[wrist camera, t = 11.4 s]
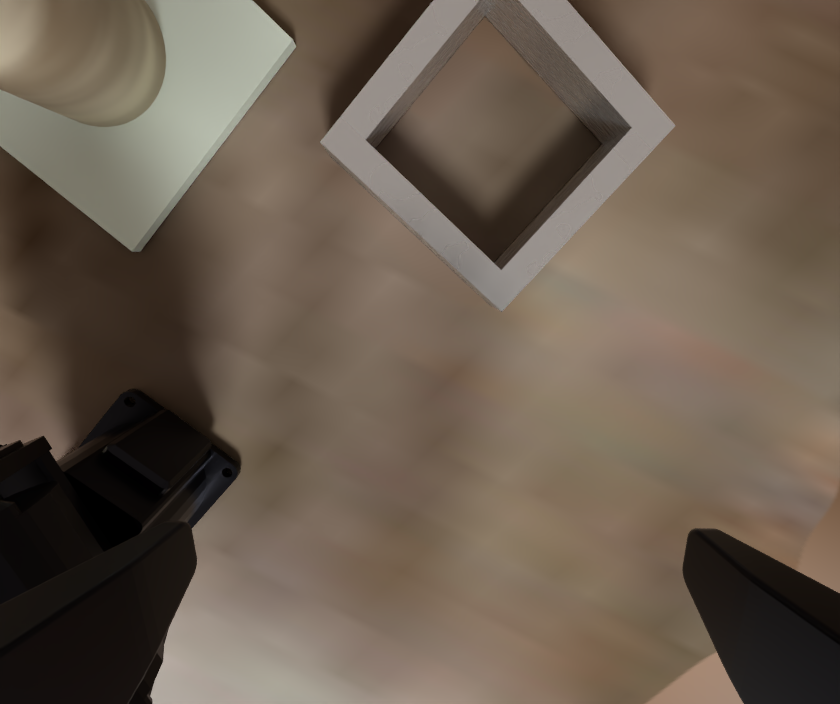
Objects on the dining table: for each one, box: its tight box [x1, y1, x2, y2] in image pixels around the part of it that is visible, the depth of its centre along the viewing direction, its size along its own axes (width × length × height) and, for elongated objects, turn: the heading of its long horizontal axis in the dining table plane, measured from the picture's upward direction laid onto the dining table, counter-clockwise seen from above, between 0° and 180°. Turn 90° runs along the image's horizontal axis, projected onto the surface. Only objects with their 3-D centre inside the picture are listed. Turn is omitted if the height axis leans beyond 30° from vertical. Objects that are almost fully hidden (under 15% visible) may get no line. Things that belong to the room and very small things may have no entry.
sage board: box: [0, 0, 296, 252], centre depth 17 cm, size 11×11×1 cm
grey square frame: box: [320, 0, 675, 312], centre depth 18 cm, size 10×10×2 cm
